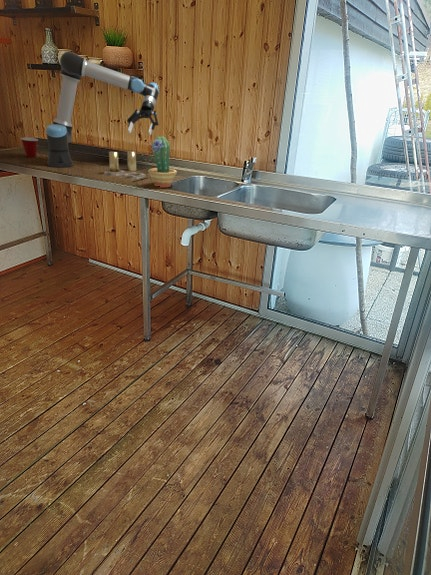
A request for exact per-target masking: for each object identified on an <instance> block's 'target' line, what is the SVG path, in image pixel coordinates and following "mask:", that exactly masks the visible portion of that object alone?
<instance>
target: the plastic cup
mask: <svg viewBox="0 0 431 575" xmlns="http://www.w3.org/2000/svg"><path fill="white" fill-rule="evenodd" d="M20 140H21V142H22V145H23V150H24V151H25V154H26V157H27V158H36V157H37V151H38V141H39V139H38V138H35V137H20Z"/></svg>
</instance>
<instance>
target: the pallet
mask: <svg viewBox="0 0 431 575" xmlns="http://www.w3.org/2000/svg"><path fill="white" fill-rule="evenodd" d="M100 175H102V176H106V177H112V178H120V179H125V180H132V183H136V182H140V181H143V180H144V181H145V180H147V179H149V176H148V175H146V174H145V173H140V172H135V171H131V172H126V171H125V170H121V169H119V172H117V173H114V172H110V169H108V170H103V173H102V174H100Z"/></svg>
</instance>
